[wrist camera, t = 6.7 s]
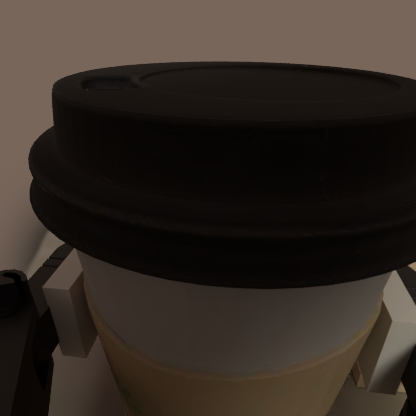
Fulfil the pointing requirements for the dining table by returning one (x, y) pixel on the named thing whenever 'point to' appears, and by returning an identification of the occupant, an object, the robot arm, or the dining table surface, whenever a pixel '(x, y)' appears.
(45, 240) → the dining table surface
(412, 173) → the coffee cup
